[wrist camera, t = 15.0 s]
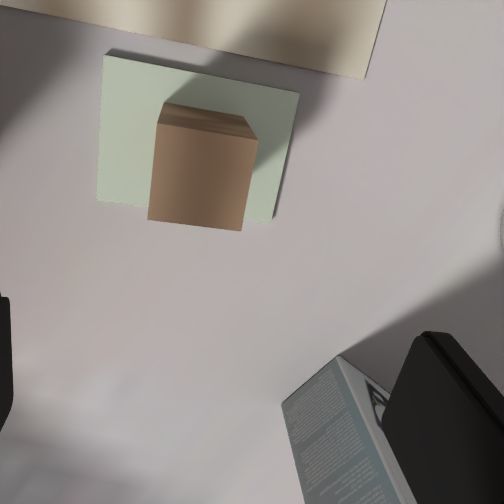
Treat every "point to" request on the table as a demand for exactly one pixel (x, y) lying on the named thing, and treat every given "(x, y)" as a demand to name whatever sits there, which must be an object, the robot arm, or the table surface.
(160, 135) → the walnut block
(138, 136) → the mat
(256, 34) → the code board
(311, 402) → the hard drive box
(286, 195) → the table surface
